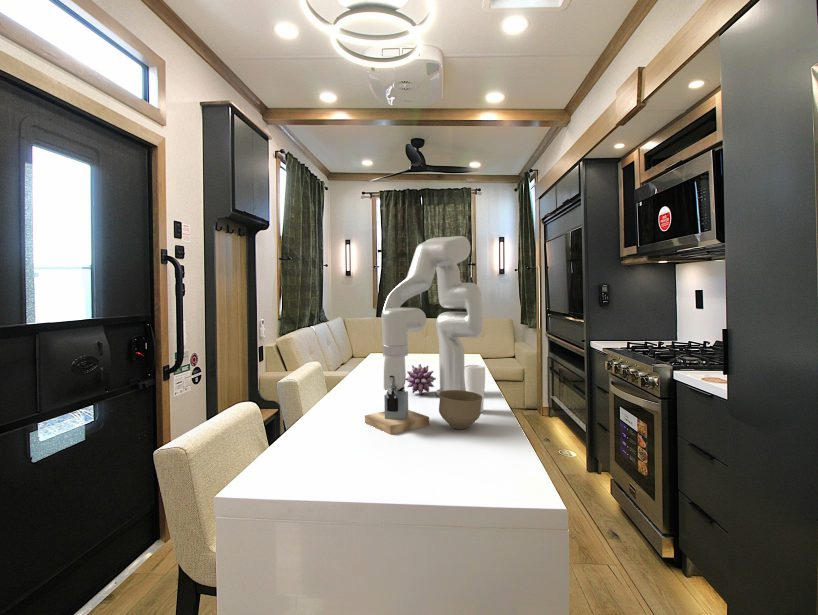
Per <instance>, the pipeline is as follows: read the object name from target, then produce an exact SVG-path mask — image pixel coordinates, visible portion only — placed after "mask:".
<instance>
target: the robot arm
mask: <svg viewBox="0 0 818 615" xmlns="http://www.w3.org/2000/svg"><path fill="white" fill-rule="evenodd" d="M470 254H471V243H470V240H469V239H468V238H467V237H466V236H464V235H458V236H453V235H452V236H441V237H432V238H428V239H427V240H425V241H423V242H421V243H419V244H418V245H417V246H416V248H415V251H414V253H413V257H412V260H411V263H410V266H409V269H408V272H407V275H406V277H405V279H404V280H402V281H401V282H400V283H398V285H396V286H395V288H393V289H392V290H391V291H390V293H389V294H388V295H387V297H386V299H385V301H384V302H385V303H384V306H383V309H382V311H381V316H380V321H381V326H382V330H381V331H382V332H381V334H382V337H381V338H382V357H384V362H383V363H384V364H383V390H385V391H386V390H387V391H386V393H387V411H389V412H397V411H398V398H397V392H398V391H406V390H405V388H406V387H405V385H406V381H407V380H406V378H407V377H406V376H407V375H406V373H407V371H406V358H405V357H407V356H408V355H409V352H408V348H409V346H408V342H409V341H408V333H410V332H411V333H413V332H414V333H415V332H419V331H421V330H423V329H424V328H425V326H426V324H427V316H426V313H425V312H424V311H423V310H422V309H420V308H417V307H402V305H403V304H404V303H405V302H406V301H408V300H409V299H411V298H413V297H415V296H417V295H420V294H422V293H424V292H426V291H428V290H429V289H430V288H431V287H432V284H433V280H434V277H435V273H436V276H437V277H436V278H437V295H438V301H439V305H440V306H441V307H442V308H444V309H464V310H465V311H445V312H442V313H440V314H438V316H437V318H436V320H435V326H436V327H435V328H436V331H437V338H438V358H439V359H438V360H439V361H438V363H439V366H438V368H439V369H438V370H439V372H438V373H439V388H438V389H437V390H436V391H435V395H436V396H437V397H440V396H439V393H440V392H442V391H446V390H462V391H466V389H465V378H464V368H465V346H464V345H463V344H464V343H462V341H461V340H460V338H469V339H470V338H471V339H472V338H474V339H475V338H478V337H480V335H481V334H482V332H483V308H482V292H481V289H480V287H479V286H478V285H477V284H476V283H473V282H461V272H460V268H459V266H458V264H459V263H462V262H463V261H466V260H467V259H468V257H469V256H470ZM394 391H395V394H394Z"/></svg>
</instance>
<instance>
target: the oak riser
mask: <svg viewBox="0 0 818 615" xmlns="http://www.w3.org/2000/svg"><path fill="white" fill-rule="evenodd" d="M365 423H366V425H368V426H370V427H372V426H373V428H374V427H375V429H377V430H379V431H381V432H383V431H384V433H386V434H388V435H395V434H398V433H402V432H406V431H411V430H414V429H418V428H423V427H426V426H427V427H428V426H430V417H429V416H427V415H426V414H425V415H424V414H421V413H420V412H419V413H418V412H415V411H413V410H410V409H408V415H407V417H406V418H405V420H404V419H385V410H383V411H381V412H376V413H370V414H366V415H364V424H365Z"/></svg>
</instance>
